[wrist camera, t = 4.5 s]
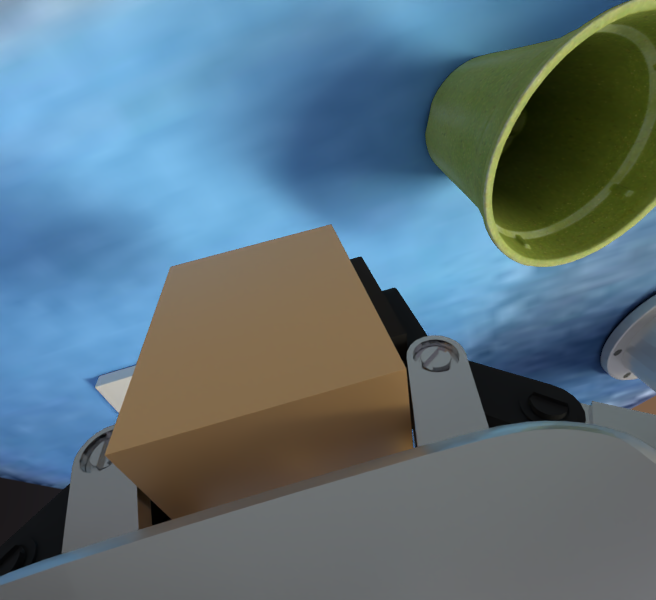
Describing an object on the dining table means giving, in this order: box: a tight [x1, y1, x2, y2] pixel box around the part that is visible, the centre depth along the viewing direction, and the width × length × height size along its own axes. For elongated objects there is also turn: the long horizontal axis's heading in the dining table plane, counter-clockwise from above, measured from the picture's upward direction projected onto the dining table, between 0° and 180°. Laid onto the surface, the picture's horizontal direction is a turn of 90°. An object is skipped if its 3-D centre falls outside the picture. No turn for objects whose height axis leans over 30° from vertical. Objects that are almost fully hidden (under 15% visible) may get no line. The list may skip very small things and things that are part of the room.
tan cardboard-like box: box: [105, 225, 413, 520], centre depth 10 cm, size 5×5×6 cm
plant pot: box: [425, 0, 656, 267], centre depth 17 cm, size 9×9×9 cm
